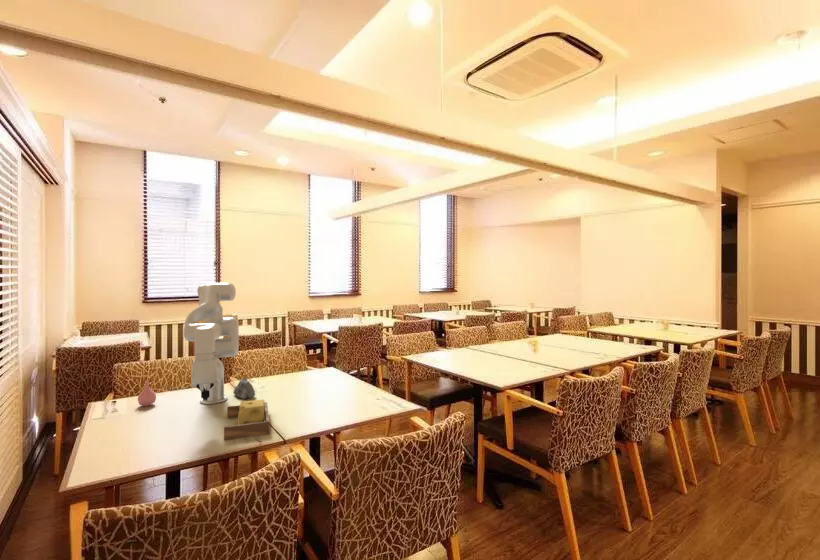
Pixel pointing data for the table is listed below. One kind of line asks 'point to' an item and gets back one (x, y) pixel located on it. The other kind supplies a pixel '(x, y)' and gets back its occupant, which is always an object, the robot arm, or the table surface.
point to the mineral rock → (244, 389)
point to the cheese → (251, 412)
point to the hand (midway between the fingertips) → (205, 399)
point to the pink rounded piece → (146, 396)
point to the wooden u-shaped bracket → (246, 425)
